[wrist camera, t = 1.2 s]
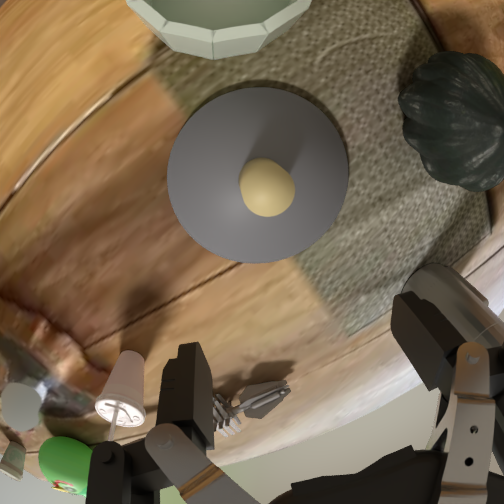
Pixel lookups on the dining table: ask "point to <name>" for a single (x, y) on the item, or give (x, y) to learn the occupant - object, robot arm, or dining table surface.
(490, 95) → the squash
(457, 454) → the robot arm
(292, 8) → the bowl
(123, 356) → the smoothie
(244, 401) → the spaceship
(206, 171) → the lid
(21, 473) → the coffee cup
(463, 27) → the dining table surface
